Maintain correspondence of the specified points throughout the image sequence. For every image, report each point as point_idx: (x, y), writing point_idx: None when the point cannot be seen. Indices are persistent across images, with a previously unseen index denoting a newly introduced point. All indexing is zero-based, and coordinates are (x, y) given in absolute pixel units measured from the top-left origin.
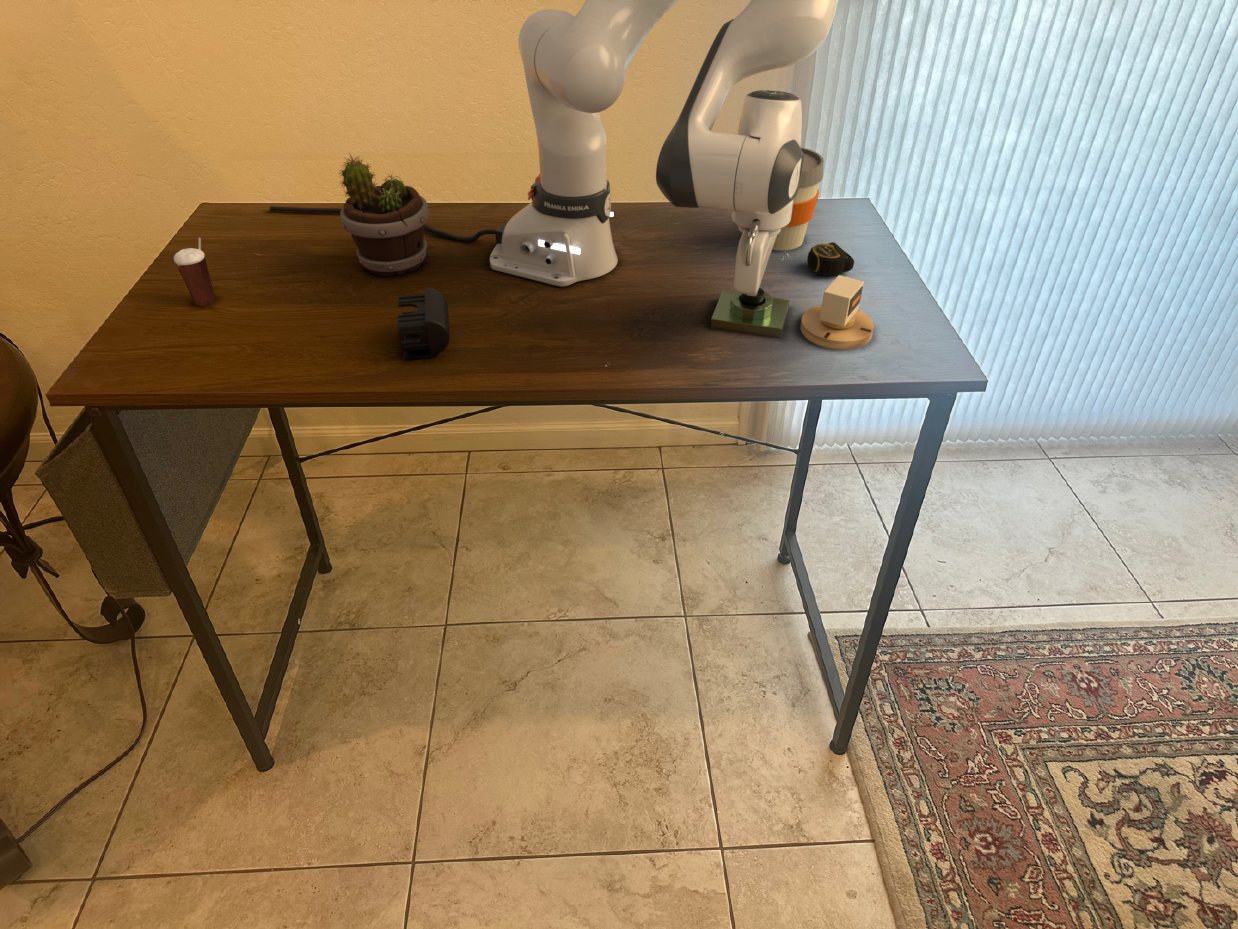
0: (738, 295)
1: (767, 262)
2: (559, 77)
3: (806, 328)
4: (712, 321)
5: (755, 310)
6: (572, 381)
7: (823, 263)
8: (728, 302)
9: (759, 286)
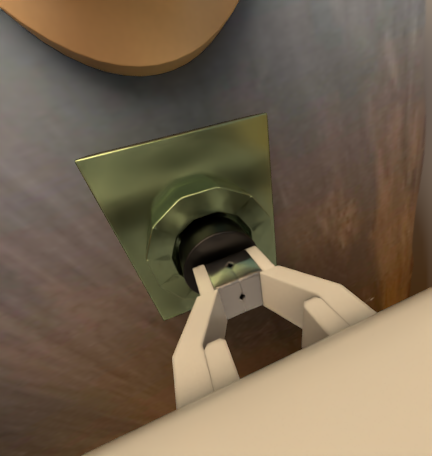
0: None
1: (353, 378)
2: None
3: (228, 15)
4: None
5: (267, 214)
6: (395, 301)
7: None
8: None
9: (208, 267)
